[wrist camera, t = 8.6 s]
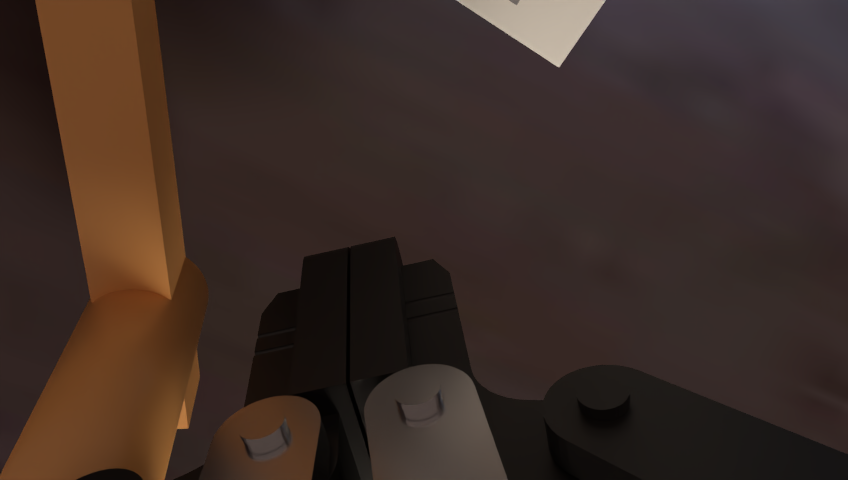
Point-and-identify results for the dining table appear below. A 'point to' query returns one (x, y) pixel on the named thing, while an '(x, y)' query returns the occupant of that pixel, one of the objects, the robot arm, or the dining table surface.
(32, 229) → the dining table surface
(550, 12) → the white stepped base
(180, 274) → the crank handle
